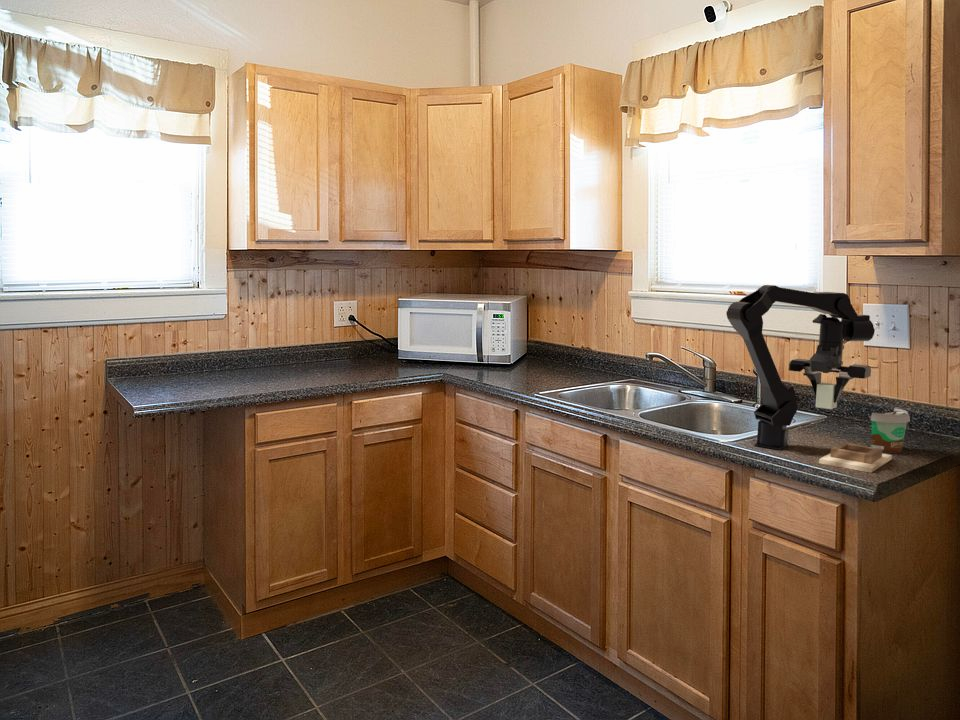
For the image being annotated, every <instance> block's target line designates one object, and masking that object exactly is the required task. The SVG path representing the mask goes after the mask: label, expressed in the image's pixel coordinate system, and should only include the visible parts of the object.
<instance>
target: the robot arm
mask: <svg viewBox="0 0 960 720" xmlns="http://www.w3.org/2000/svg"><path fill="white" fill-rule="evenodd" d="M776 302H777V303H783V304H788V305H796V306H803V307H805V308H806V307H807V308H810V309H811V310H814V311H815V312H819V314H818V316H817V317H815V318H814V319H813V320H812V321H811V322H812V323H814V324H817V325H820V326H819V334H818V335H819V336H818V338H819V339H818V344H817V346H816V351H815V353H813V355H812V356H811V357H810V358H809V359H807V358H795V359H791V360H790V361H789V363H788V371H791V372H798V373H799V372H802V371H803V370H804V371H803V373H802V375H803V376H806V377H807V379H809V381H810V383H811V386H812V390H813V393H814V396H815V398H816V393H817V384H819V383H822V373H823V374H828V373H837V374H839V376H835V382H836V383H835V384H836V388H835V394H834V403H836V402H837V403H838V400H839V399H840V396H841V395H842V393H843V391H844V388H845V387H846V385H847V384H848V382H850V380H853V379H867V378H870V377H871V376H872V375H871V372H872V369H871V367H870V365H868V364H866V365H865V364H859V363H858V364H857V363H853V364H850V365H849V366H846V365H845V366H843V364H844V361H843V354H844V353H843V352H844V349H845V344H844V341H846V342H869V341H871V340H872V339H873V337H874V336H875V330H876V329H875V326H874V324H873V322H872V321H871V316H870V315H869V314H859V315H858V312H856V310H855V308H854V307H853V305H852V301H851V299H850V295H848V294H847V293H844V292H835V291H834V292H833V291H818V292H817V291H815V292H811V291H804V290H799V289H792V288H786V287H779V286H777V285H773V284H764V285H762V286H760V287H759V288H758V289H756V290H755V291H753V292H752V293H749V294H747V295H746V296H744V297H742V298H741V299H740V300H738V301H734V302H733V303H731V304H729V306H728V307H727V310H726V314H725V315H726V317H727V320H728V323H730V325H731V327H732V328H733V329H734V331H736V332H737V333H738V334H739V335H740V337H741V338H742V339H743V342H744V344H745V347H746V349H747V351H748V354H749V356H750V359H751V361H752V364H753V366H754V369H755V371H756V374H757V377H758V379H759V381H760V384H761V386H762V391H761V400H762V403H761V404H760V405H759V406H758V407H757V408H756V409H755V410H754V411H753V413H754V414H753V415H754V417H755V420H757V421H758V422H757V435H756V442H755V443H754V444H753V445H754V446H756V447H761V448H767V449H772V450H782V449H784V448H786V447H788V446H789V444H788V440H789V429H787V426H789V427H790V426H791V425H792V422H793V420H794V417H795V415H796V413H797V411H798V410H799V403H798V402H799V401H800V399H799V398H798V397H797V395H796V390H795V387H794V386H792V385H788V384H784V383H783V381H782V378H781V377H780V374H779V372H778V369H777V367H776V364H775V362H774V360H773V359H774V358H773V357H772V355H771V352H770V349H769V347H768V345H767V342H766V339H765V337H764V333H763V328H764V319H763V316H764V315H765V314H766V313H768V312H769V310H770V309H771V307H772V306H773V304H775V303H776ZM827 315H828V316H827ZM829 316H830V317H829ZM840 319H841V320H840Z"/></svg>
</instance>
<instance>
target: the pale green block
mask: <svg viewBox="0 0 960 720" xmlns="http://www.w3.org/2000/svg"><path fill="white" fill-rule="evenodd" d="M835 388H836V383H830V382H821V383H819V384H817V393H816V397H815V408H819V409H827V410H834V409H836V408H837V407H838V401H837V402H836V403H834V394H835Z"/></svg>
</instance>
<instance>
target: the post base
mask: <svg viewBox="0 0 960 720" xmlns="http://www.w3.org/2000/svg"><path fill="white" fill-rule="evenodd" d="M892 459H893V455H892V454H889V453H882V449H880V448H873V447H871V446H867V445H860V444H855V443H848V442H842V443H839V444H838V445H835V446H834V447H832V448H830V452H829V453H828V454H826V455H824V456H822V457H821V458H819V460H818V464H821V465H822V464H823V465H826V466H827V465H828V466H834V467H839V468H843V469H844V468H845V469H848V470H849V469H850V470H856V471H861V472H866V473H871V474H872V473H873V472H875V471H876V470H877V469H879V468H880V467H883V465H885V464H887V463H888V462H889V461H891V460H892Z"/></svg>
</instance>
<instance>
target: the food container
mask: <svg viewBox="0 0 960 720" xmlns="http://www.w3.org/2000/svg"><path fill="white" fill-rule="evenodd" d="M869 421H871V436H870V447H873V448H880V449H882V454H899V453H900V454H901V453H902V451H903V447H904V439H905V435H906V434H905V433H906V429H907V424H908V423H909V422H911V417H910V414H909V411H907V410H905V409H901V408H896V407H894V408H893V411H890V412H888V411H887V412H886V411H884V412H881V413H880V412H879V413H877V412H871V415H870V420H869Z"/></svg>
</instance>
